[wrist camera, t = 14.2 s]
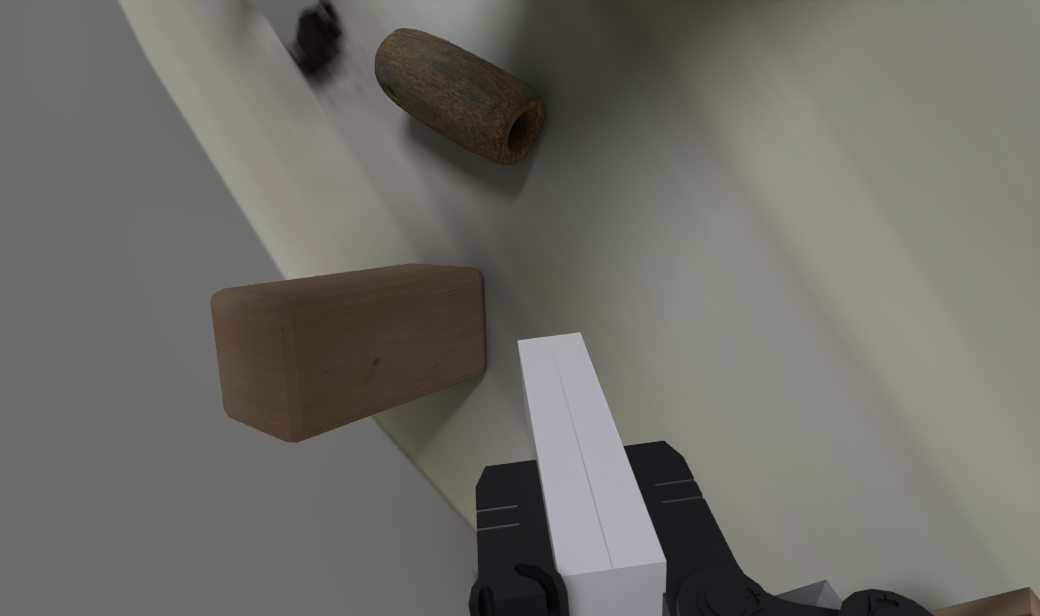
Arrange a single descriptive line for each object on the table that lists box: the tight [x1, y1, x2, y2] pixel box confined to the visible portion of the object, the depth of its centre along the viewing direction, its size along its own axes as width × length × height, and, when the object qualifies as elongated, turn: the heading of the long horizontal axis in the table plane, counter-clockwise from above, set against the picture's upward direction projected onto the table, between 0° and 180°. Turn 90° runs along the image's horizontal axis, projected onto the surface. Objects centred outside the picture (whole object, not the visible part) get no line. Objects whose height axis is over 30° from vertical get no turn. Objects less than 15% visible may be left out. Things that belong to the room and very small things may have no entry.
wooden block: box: [211, 264, 486, 442], centre depth 49 cm, size 10×10×20 cm
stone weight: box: [375, 28, 545, 165], centre depth 47 cm, size 15×7×7 cm, turn 68°
